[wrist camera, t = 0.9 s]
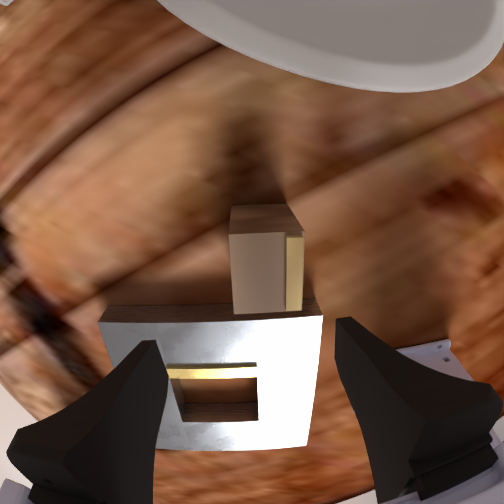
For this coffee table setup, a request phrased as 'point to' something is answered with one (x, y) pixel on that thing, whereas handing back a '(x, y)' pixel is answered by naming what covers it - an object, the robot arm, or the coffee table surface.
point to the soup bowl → (357, 38)
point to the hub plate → (227, 370)
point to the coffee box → (5, 2)
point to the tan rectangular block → (266, 259)
